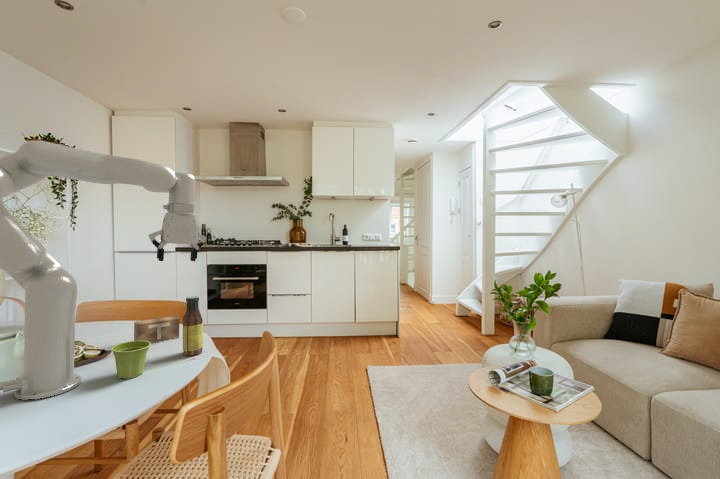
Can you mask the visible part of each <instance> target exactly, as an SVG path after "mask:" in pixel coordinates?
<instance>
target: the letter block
mask: <svg viewBox="0 0 720 479" xmlns="http://www.w3.org/2000/svg"><path fill="white" fill-rule="evenodd" d="M180 322H181V321H180V317H178V316H177V315H173V316H172V315H171V316H165V317H160V318H159V317H158V318H152V319H151V318H150V319H145V320H137V321H134V325H133V326H134V328H133V341H148V342H150V343H151V344H154V342H155V343H160V342H159V341H161V342H164V341H163V340H166V341H170V340H169V339H171V340H174V338H176V339H179V338H180Z"/></svg>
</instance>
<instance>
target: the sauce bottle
mask: <svg viewBox="0 0 720 479" xmlns="http://www.w3.org/2000/svg"><path fill="white" fill-rule="evenodd" d="M199 301H200V296H197V295H193V296H191V295H190V296H187V297H186V298H185V302H186V312H185V313H184V315H183V316H182V351H183V355H184V356H189V357H190V356H191V357H192V356H193V357H194V356H197V355H199V354H202V352H203V347H204V334H203V333H204V328H203V325H204V323H203V322H204V321H203V316H202V314H201V311H200V308H199V306H200V305H199Z"/></svg>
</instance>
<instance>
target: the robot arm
mask: <svg viewBox="0 0 720 479" xmlns="http://www.w3.org/2000/svg"><path fill="white" fill-rule="evenodd" d="M49 177H57V178H62V179H63V178H64V179H69V180H76V181H81V182H85V183H86V182H87V183H93V184H98V185H99V184H103V185H114V184H115V185H116V184H117V185H118V184H119V185H120V184H121V185H122V184H123V185H132V186H133V185H134V186H138V187H143V188H144V189H145V191H149V192H151V193H167V194H168V203H167V204H163V205H162V208H163V210H166V211H167V212H165V214H164V216H163V221H162V224H161V229H160V230H157V231H154V232H152V233H149V234H148V238H149V240H150V242H151V244H152V245H154V246H155V248H156V249H157V250H156V259H158V261H160V262H163V261H164V257H165V249H164V247H166V245H167V244H178V245H190V246H191V248H192V249H191V250H190V261H191V262H196V260H197V259H198V251H199V250H200V248H201V247H203V246H204V244H205V242H206V241H207V239H208V238H207V237H206V236H204V235H203V234H201V233H199V232H198V218H197V215H194V211H195V199H196V198H195V197H196V183H197V182H196V180H197V179H196V177H195V176H194V175H193V174H190V173H186V172H179V171H178V172H177V171H176V172H174V171H173V170H172V169H171V168H170V167H169V166H166V165H163V164H161V163H160V164H158V163H155V162H151V161H146V160H142V159H137V158H132V157H124V156H118V155H117V156H116V155H112V154H103V153H99V152H95V151H90V150H84V149H81V148H76V147H71V146H67V145H63V144H59V143H53V142H48V141H45V140H28V141H26V142H23V143H21V145H20V146H19V147H18V150H17V151H15V152H12V153H10V154H7V155H5V156H3V157H0V270H2V271H4V272H6V274H8V276H9V277H11V278H12V279H13V280H14V281H15V282H16V283H17V284H18V285H19V286H20V287H21V288H22V289H23V290H24V324H23V325H24V326H23V327H24V328H23V329H24V331H23V333H24V334H23V336H24V339H23V340H24V342H23V372H22V374H21V376H19V377H16V378H15V379H13V380H6V381H1V382H0V391H2V393H7V392H10V391H14V392H13V393H14V394H13V396H14V398H15V399H16V400H19V399H22V400H21V401H29V400H28V399H35V400H41V399H40V398H42V399H45V398H46V397H47V398H50V396H51V397H54V395H55V396H57V395H61V394H64V393H67V392H68V391H71V390H72V389H74V388H77V387H78V386H79V385H80V384H81V383H82V376H81V375H79V374H77V373H75V349H76V348H75V346H76V345H75V343H76V341H75V340H76V308H77V300H78V285H77V281H76V279H75V278H74V277H73V275H71V274H70V273H69V272H68V271H67V270H66V269H65V268H64V267H63V266H62V265H61V263H60V262H58V260H56V258H55V257H54V256H53V255H52V254H51V253H50V252H49V250H47V248H45V246H44V245H43V244H42V242H40V241H39V239H37V238H35V237H33V236H32V235H31V234H30V233H29V232H28V231H27V230H26V229H25V228H24V226H22V224H21V223H20V222H19V221H18V220H17V219H16V218H15V217H14V215H13V214H12V213H11V212H10V211H9V210H8V209H7V207H6V206H5V204H4V201H3V198H5V197H8V196H11V195H12V194H13V195H14V194H15V193H18V192H20V191H21V190H24V189H26V188H29V187H31V186H33V185H35V184H38V183H39V182H41V181H43V180H45V179H47V178H49ZM157 236H160V241H158V240H157V239H156V237H157ZM198 239H200V241H199V242H198ZM47 398H46V399H47Z"/></svg>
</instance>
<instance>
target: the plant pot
mask: <svg viewBox="0 0 720 479" xmlns="http://www.w3.org/2000/svg"><path fill="white" fill-rule="evenodd" d="M151 345H152V343H150V342H148V341H134V340H131V341H124V342H121V343H118V344H115V345H114V346H112V347H111V349H110V350H111V351H112V353H113V354H112V355H113V356H114V360H115V366H116V367H115V368H116V374H117V378H118V379H125V380H128V379H132V378H136V377H139V376H140V375H142V374H143V373H144V370H145V364H146V359H147V353H148V351H149V348H150V346H151Z"/></svg>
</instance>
